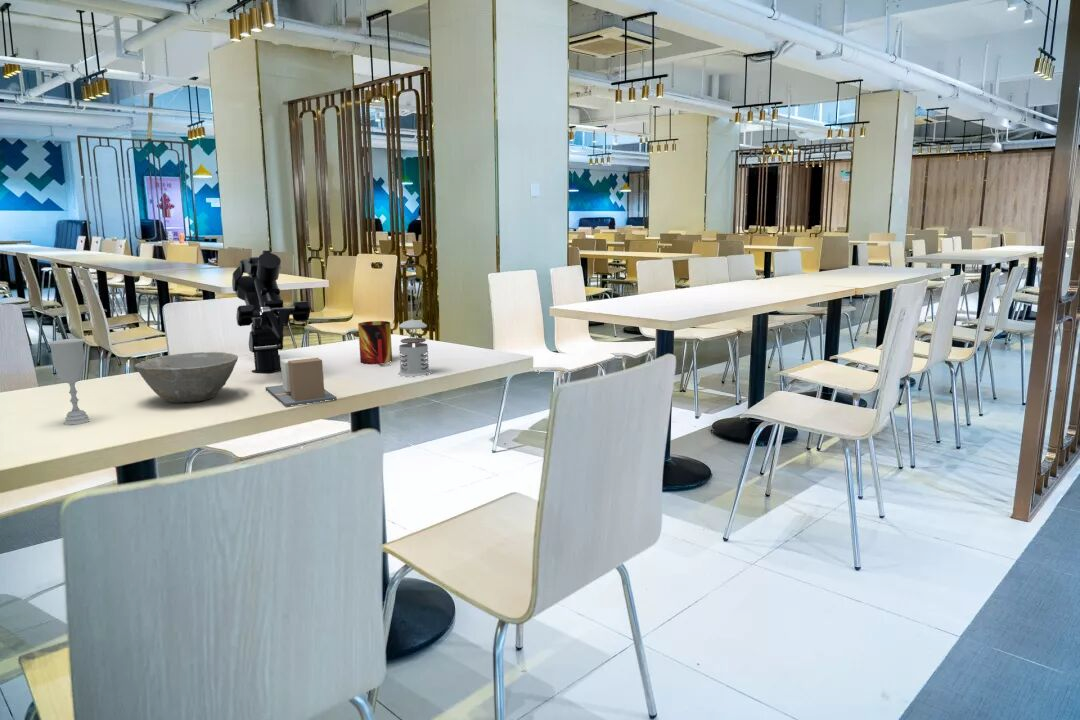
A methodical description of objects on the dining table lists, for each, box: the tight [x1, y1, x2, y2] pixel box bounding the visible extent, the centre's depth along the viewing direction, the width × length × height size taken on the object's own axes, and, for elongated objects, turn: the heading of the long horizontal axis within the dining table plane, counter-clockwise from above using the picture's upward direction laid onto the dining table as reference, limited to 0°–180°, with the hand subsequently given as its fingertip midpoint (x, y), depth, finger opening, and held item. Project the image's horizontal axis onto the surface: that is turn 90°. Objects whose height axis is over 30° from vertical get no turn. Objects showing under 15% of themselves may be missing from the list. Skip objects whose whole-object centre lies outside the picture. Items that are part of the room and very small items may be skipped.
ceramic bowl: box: [134, 351, 239, 404], centre depth 183 cm, size 22×23×10 cm
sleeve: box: [280, 356, 312, 392], centre depth 185 cm, size 5×7×7 cm
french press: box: [397, 285, 432, 378], centre depth 209 cm, size 10×12×25 cm
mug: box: [357, 320, 393, 365], centre depth 228 cm, size 10×14×12 cm
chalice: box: [47, 338, 91, 425], centre depth 163 cm, size 7×7×18 cm
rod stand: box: [265, 357, 337, 407], centre depth 186 cm, size 22×12×10 cm, turn 32°
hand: (280, 337), depth 198 cm, fingers closed
